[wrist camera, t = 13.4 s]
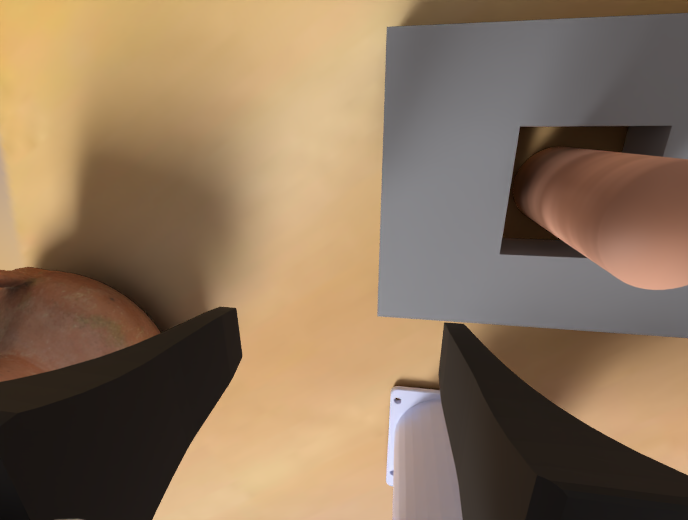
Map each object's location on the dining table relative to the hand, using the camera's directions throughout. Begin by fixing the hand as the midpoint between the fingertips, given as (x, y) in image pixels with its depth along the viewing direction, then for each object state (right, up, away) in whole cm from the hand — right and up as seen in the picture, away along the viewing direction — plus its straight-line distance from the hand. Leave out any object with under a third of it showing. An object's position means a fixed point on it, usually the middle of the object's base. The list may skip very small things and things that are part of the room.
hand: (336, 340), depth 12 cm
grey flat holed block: (+11, +7, +7) cm, 15 cm away
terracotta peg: (+11, +7, +7) cm, 15 cm away
